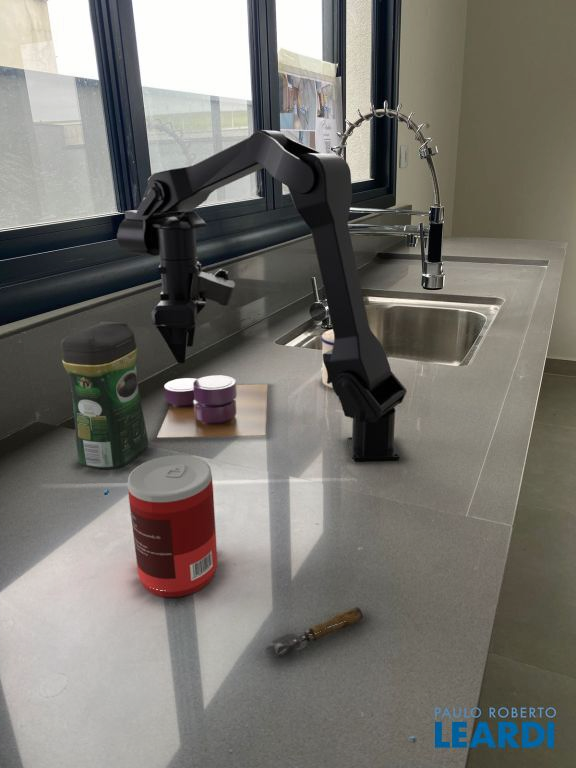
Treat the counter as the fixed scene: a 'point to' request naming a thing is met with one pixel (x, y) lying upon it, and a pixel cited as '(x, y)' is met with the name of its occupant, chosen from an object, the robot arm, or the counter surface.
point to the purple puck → (215, 390)
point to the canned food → (173, 524)
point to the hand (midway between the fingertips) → (185, 354)
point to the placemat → (242, 424)
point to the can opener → (316, 631)
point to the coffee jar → (105, 395)
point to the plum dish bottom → (214, 412)
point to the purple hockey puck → (180, 392)
